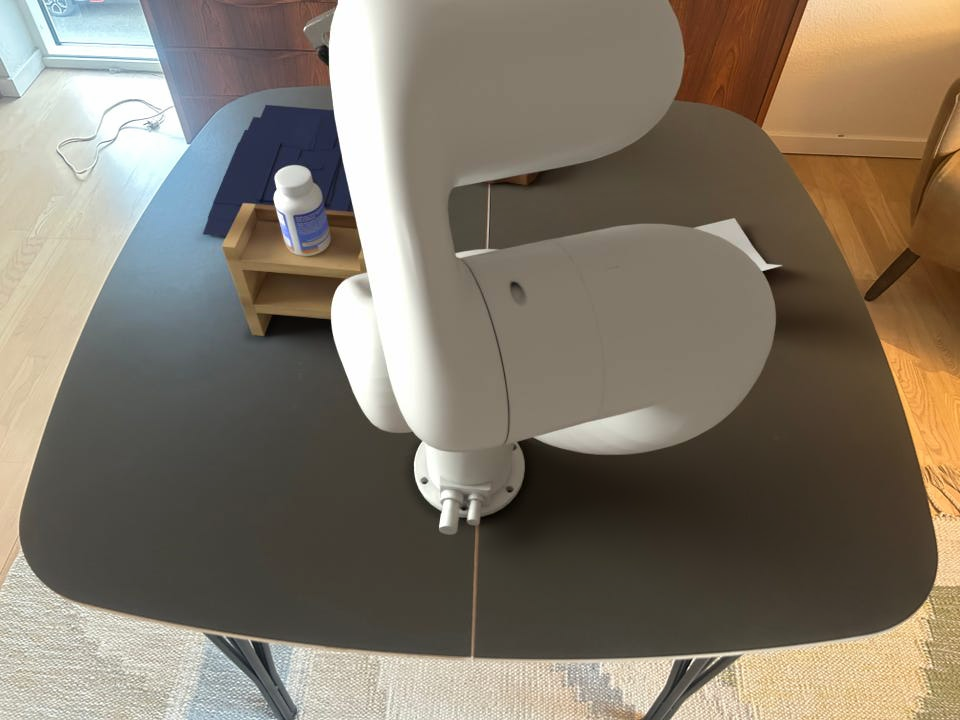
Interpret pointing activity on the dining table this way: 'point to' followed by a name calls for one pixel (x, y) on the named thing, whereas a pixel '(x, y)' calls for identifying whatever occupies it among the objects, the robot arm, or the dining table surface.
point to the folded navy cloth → (281, 162)
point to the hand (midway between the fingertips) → (409, 117)
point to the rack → (288, 266)
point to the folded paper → (736, 239)
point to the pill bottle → (301, 211)
